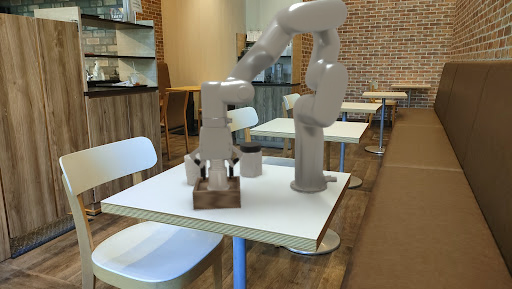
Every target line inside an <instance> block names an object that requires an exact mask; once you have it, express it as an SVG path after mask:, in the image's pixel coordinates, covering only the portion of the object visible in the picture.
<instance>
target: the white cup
mask: <svg viewBox="0 0 512 289" xmlns="http://www.w3.org/2000/svg"><path fill="white" fill-rule="evenodd" d="M190 154H191V153H188V154H186V155H184V156H183V157H184V168H185V175H186V182H187V185H189V186H193V187H194V186H195V183H196V180H197V177H201V173H200V168H199V166H198V165H197V164H195V163H194V161H193V160H192V159H191V158H190V157H189V155H190ZM195 156H196V158H198V159H199V160H200V161H201V160H202V159H200V155H199V153H198V154H196V155H195ZM207 162H208V160H206V162H205V164H204V165H205V167H206V174H208V166H207Z"/></svg>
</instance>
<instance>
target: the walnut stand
mask: <svg viewBox="0 0 512 289" xmlns="http://www.w3.org/2000/svg"><path fill="white" fill-rule="evenodd" d="M240 178H241V175H234V176H232V180H230V179H229V175H227V184H228V185H229V186H230V187H229V189H228V190H208V189H207V186H208V185H209V179H208V176H206V180H205V181H203V177H197V180H196V183H195V186H193V189H192V193H191V194H192V208H193V211H199V210H223V209H224V210H227V209H228V210H229V209H242V204H241V203H242V200H241V199H242V198H241V196H242V195H241V179H240Z"/></svg>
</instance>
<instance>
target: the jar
mask: <svg viewBox="0 0 512 289" xmlns="http://www.w3.org/2000/svg"><path fill="white" fill-rule="evenodd" d="M239 150H240V151H242V152H243V156H242V157H241V159H240V160H239V174H240V176H242V177H243V178H252V179H253V178H256V177H260V176H263V151H262V144H261V143H260V142H258V141H257V142H256V141H247V142H245V141H244V142H241V143H240V144H239Z"/></svg>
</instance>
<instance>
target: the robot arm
mask: <svg viewBox="0 0 512 289" xmlns="http://www.w3.org/2000/svg"><path fill="white" fill-rule="evenodd" d="M347 18H348V8H347V4H346V3H345V1H343V0H311V1H302V2H296V3H291V4H289V5H286V6H284V7H281V8H280V9H279V10H278V11H276V13H275V14H274V15H273V17H272V18H271V20H270V21H269V23H268V24H267V25H266V27H265V29H264V30H263V31H262V32H261V34H260V36H258V38H257V40H256V41H255V42H254V44H253V45H252V46H251V47H250V49H248V51H247V52H246V53H245V54H244V55H243V56H242V58H241V59H240V60H239V61H238V62H237V63H236V64H235V66H234V67H233V68H232V69H231V71H230V73H229V74H228V75H227V77H226V78H225V80H224V81H223V80H205V81H202V83H201V84H200V98H201V101H200V102H201V103H200V104H201V118H202V119H201V120H202V126H200V129H199V136H198V137H199V140H198V142H199V143H198V145H199V146H198V147H197V148H195V149H194V150H193V151H192V152H190V153H189V154H190V155H189V157H190V158H191V159H192V160H193V161H194V163H195V164H197V165H198V166H199V168H200V173H201V177H203V181H205V180H206V177H207V173H206V167H205V165H204V164H205V162H206V160H207V161H210V160H216V159H223V160H225V161H226V162H227V163H228V176H229V179H230V180H232V176H235V175H234V174H235V173H234V172H235V171H234V167H235V166H236V164H238V162H240V159H241V157H242V156H243V152H242V151H240V148H239V149H238V148H237V147H236V146H234V144H233V134H232V129H231V126H230V125H229V124H233V118H230V117H229V116H228V105H231V106H244V105H245V106H246V105H248V104H250V103H251V102H252V101H253V99H254V97H255V93H256V92H255V88H254V86H253V84H252V82H253V81H254V80H255V78H256V77H258V76H259V74H261V73H262V72H263V71H265V70H267V69H269V68H270V67H272V66H273V65H275V64H276V63H277V62H278V60H279V59H280V58H281V56H282V54H284V52H285V50H286V49H287V47H288V46H289V44H290V43H291V42H292V40H293V39H294V37H295V36H296V35H301V34H308V33H309V34H310V33H311V36H312V39H313V45H312V51H311V54H310V58H309V63H308V65H307V69H306V71H305V75H304V82H305V84H306V87H307V88H308V89H310V90H312V91H315V94H309V93H308V94H303V95H300V96H299V97H297V99H295V101H294V103H293V106H292V118H293V122H294V180H292V181H290V183H289V184H290V185H289V186H290V189H291V190H293V191H295V192H298V193H304V194H316V193H321V192H325V191H326V190H327V189H328V183H337V182H338V177H337V176H332V175H328V174H327V175H325V174H324V152H325V151H324V148H325V147H324V146H325V145H324V144H325V143H324V142H325V134H324V128H328V127H331V126H332V125H334V124H335V123H336V122H337V119H338V117H339V115H340V112H341V109H342V106H343V102H344V99H345V96H346V93H347V89H348V84H349V72H348V70H347V67H345V65H344V64H343V63H341V62H339V61H338V59H339V55H340V50H341V38H340V36H339V32H338V31H337V28H339V27H341V26H343V24H345V22H346V20H347ZM198 153H199V155H200V159H202V160H201V161H200V160H199V159H198V158H196V156H195V155H196V154H198ZM234 153H236V156H235V158H233V157H234V156H233V155H234Z"/></svg>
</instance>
